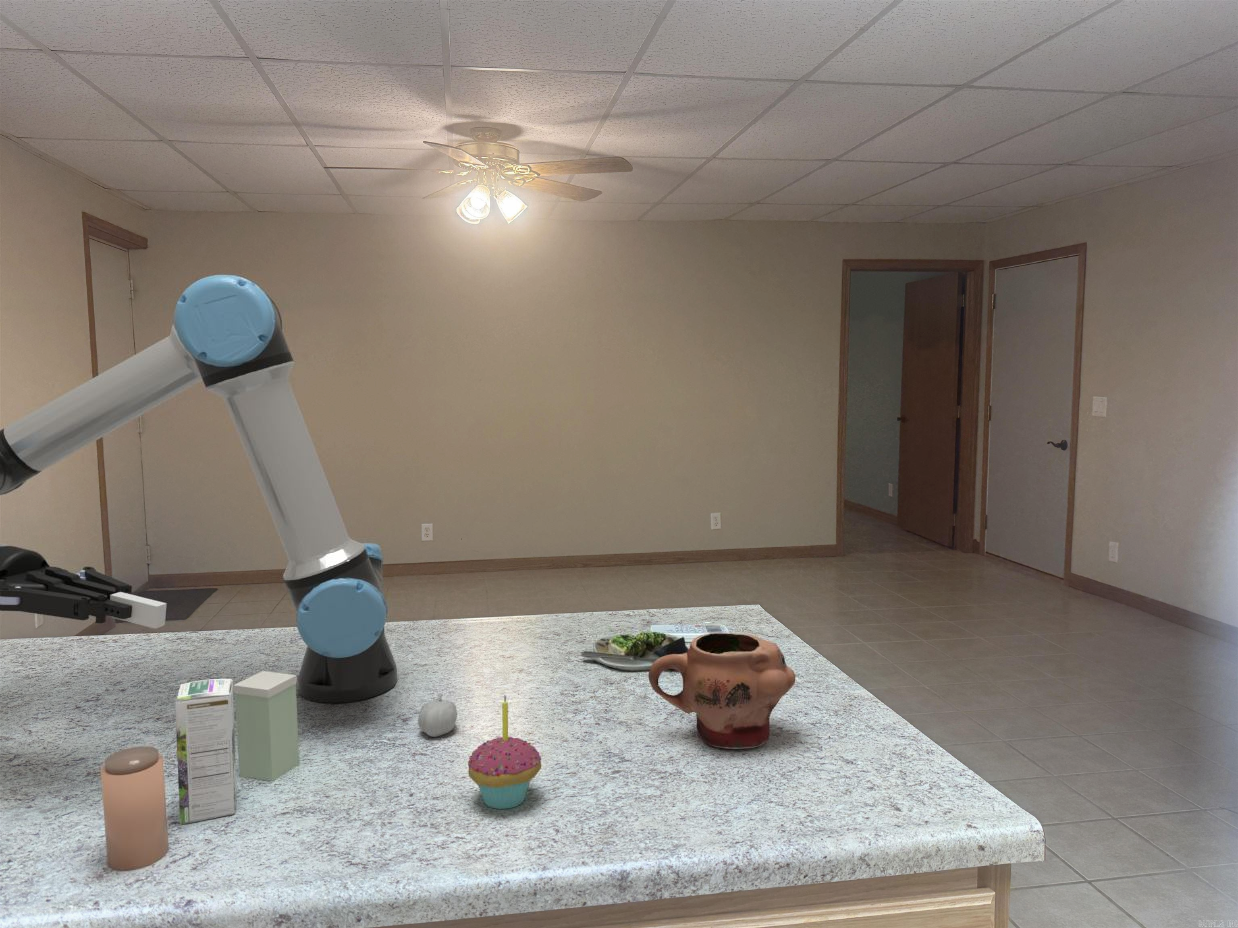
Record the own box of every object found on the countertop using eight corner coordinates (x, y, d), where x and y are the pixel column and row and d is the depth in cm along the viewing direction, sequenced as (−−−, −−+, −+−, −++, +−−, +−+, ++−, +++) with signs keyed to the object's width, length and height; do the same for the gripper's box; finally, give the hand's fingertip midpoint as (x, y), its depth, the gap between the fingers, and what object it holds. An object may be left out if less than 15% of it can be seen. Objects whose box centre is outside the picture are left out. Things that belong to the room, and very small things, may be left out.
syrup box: (183, 801, 99) (176, 682, 97) (238, 791, 101) (232, 675, 100) (179, 825, 94) (172, 700, 92) (238, 814, 96) (231, 692, 94)
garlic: (436, 720, 122) (435, 686, 121) (467, 727, 119) (466, 692, 119) (408, 737, 116) (407, 700, 116) (440, 744, 114) (439, 707, 113)
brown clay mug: (656, 762, 109) (656, 658, 107) (642, 723, 121) (642, 629, 119) (806, 754, 111) (808, 651, 109) (778, 716, 123) (780, 623, 121)
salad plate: (586, 680, 138) (586, 653, 138) (574, 645, 156) (574, 621, 155) (700, 673, 141) (701, 647, 141) (676, 640, 159) (676, 616, 158)
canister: (169, 834, 92) (162, 740, 91) (168, 861, 87) (162, 761, 86) (109, 848, 89) (102, 751, 88) (105, 876, 84) (97, 773, 83)
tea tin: (267, 757, 110) (262, 670, 109) (300, 763, 109) (296, 675, 107) (238, 775, 105) (233, 685, 104) (272, 782, 104) (268, 689, 102)
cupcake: (472, 783, 103) (470, 688, 102) (541, 780, 104) (540, 686, 103) (465, 820, 95) (463, 718, 93) (541, 816, 95) (540, 715, 94)
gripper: (43, 591, 110) (197, 630, 106) (-57, 618, 98) (113, 664, 93) (46, 536, 110) (202, 573, 105) (-53, 555, 97) (119, 599, 92)
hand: (160, 615), depth 99 cm, fingers closed
